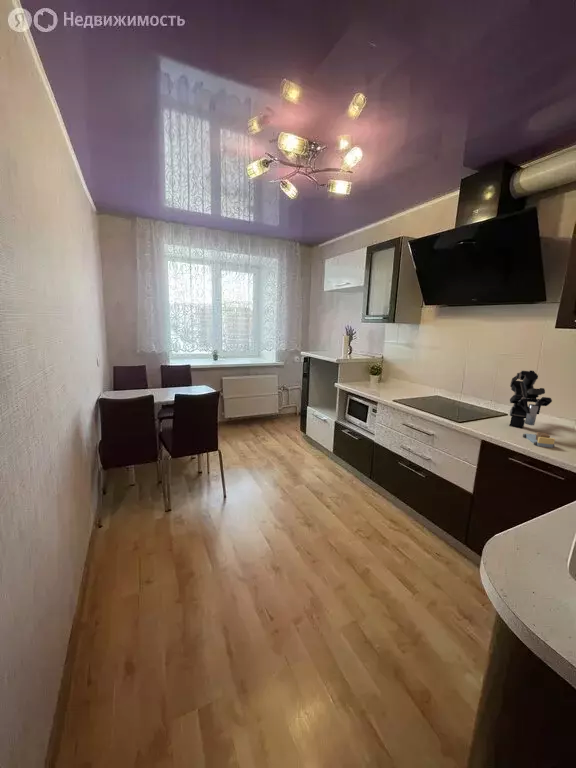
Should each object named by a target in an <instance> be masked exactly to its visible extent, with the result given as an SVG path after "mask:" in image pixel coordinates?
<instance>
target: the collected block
mask: <svg viewBox="0 0 576 768" xmlns="http://www.w3.org/2000/svg"><path fill="white" fill-rule="evenodd" d="M535 435H536V440H537V441H538V437H545V438H551V435H550V434H548V433H546V432H539V431H537V432H536V434H535Z"/></svg>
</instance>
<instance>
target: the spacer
mask: <svg viewBox="0 0 576 768" xmlns="http://www.w3.org/2000/svg"><path fill="white" fill-rule="evenodd" d="M528 408H529V414H528V413H527V415H526V418H525V419H524V420H525V423H524V425H527V426H535V424H536V420H537V415H538V414H537V412H538V408H539V406H538V405H535V403H534V404H533V403H530V404H528Z"/></svg>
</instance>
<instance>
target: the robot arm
mask: <svg viewBox="0 0 576 768" xmlns="http://www.w3.org/2000/svg"><path fill="white" fill-rule="evenodd" d="M538 379H539V375H538V374H537V373H536V371H534V370H530V369H529V370H521V371H520V372H517V373H516V375H514V377H512V379H511V381H510V385H509V386H510V390H511V391H513V392H514V394H513V395H512V396H511V397H510V398H509V403H510V404H513V405H512V406H511V407H510V410H509V416H510V422H509V424H508V426H509V427H515V428H517V429H523V428H524V427H525V420H526V415H527V413H528V414H529V408H528V407H529V404H528V403H529V402H530V403H534V405H538V406H539V408H538V412H537V415H540V413H541V412H540V411H541V407H547V406H549V405H550V404H551V403H552V402H553V399H552V397H547V396H543V397H540V396H541V395H544V394H545V393H546V389H545V388H543V387H540V388H535V387H534V385H535V384H536V382H537V380H538ZM539 397H540V398H539Z"/></svg>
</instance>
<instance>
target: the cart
mask: <svg viewBox="0 0 576 768" xmlns="http://www.w3.org/2000/svg"><path fill="white" fill-rule="evenodd" d="M536 435H537V434H535V433H534V434H533V433H526V432H525V433H523V434H522V437H523V438H525V439H527V440H528V441H529V442H531V443H532V444H533V445H534V446H537V447H542V448H550V449H551V448H552V449H553V448H554V447H555V441H556V439H555V438H553V437H550V438H545V437H538V441H537V440H536Z"/></svg>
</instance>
